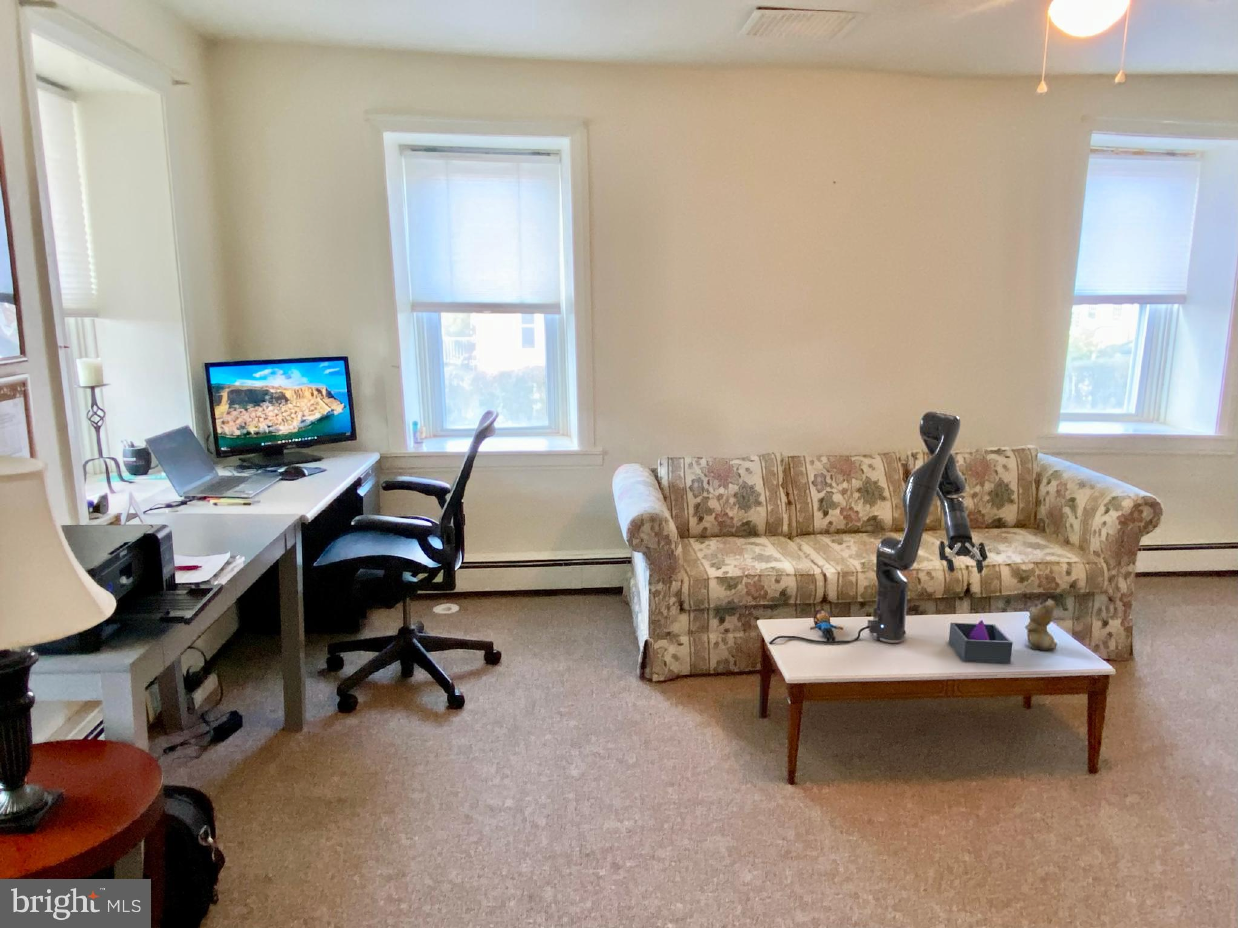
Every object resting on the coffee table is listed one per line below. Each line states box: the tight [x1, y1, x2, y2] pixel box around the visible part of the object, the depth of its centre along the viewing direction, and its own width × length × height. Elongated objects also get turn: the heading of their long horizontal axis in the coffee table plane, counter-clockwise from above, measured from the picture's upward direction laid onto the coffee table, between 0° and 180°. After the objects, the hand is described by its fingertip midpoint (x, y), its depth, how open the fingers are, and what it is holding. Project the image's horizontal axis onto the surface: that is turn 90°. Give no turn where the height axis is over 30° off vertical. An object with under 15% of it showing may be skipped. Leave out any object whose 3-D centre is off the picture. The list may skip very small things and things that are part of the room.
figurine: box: [1024, 598, 1058, 651], centre depth 238 cm, size 10×8×15 cm
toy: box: [809, 609, 844, 641], centre depth 248 cm, size 11×6×15 cm
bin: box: [948, 622, 1013, 664], centre depth 233 cm, size 14×14×7 cm
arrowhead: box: [967, 619, 989, 640], centre depth 233 cm, size 10×2×10 cm
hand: (966, 572), depth 241 cm, fingers open, 8 cm apart
